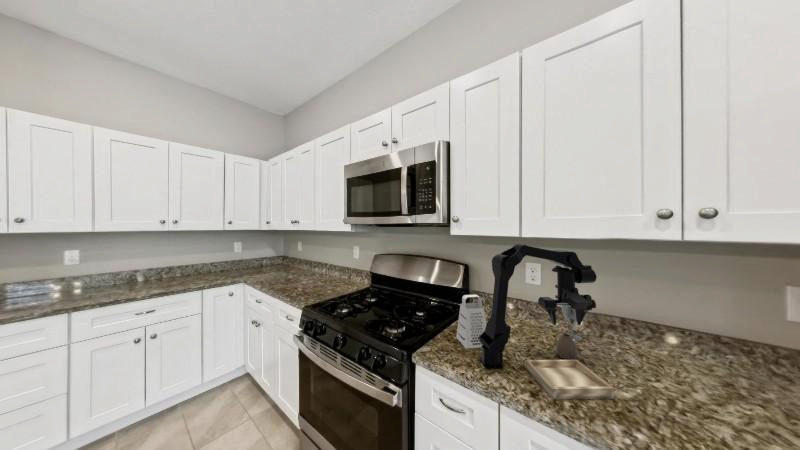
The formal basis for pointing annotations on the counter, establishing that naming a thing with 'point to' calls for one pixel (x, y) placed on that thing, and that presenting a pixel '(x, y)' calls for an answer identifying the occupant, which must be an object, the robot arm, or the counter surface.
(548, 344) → the counter surface
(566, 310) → the wine glass
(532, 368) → the tray
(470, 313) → the grater
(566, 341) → the vase
